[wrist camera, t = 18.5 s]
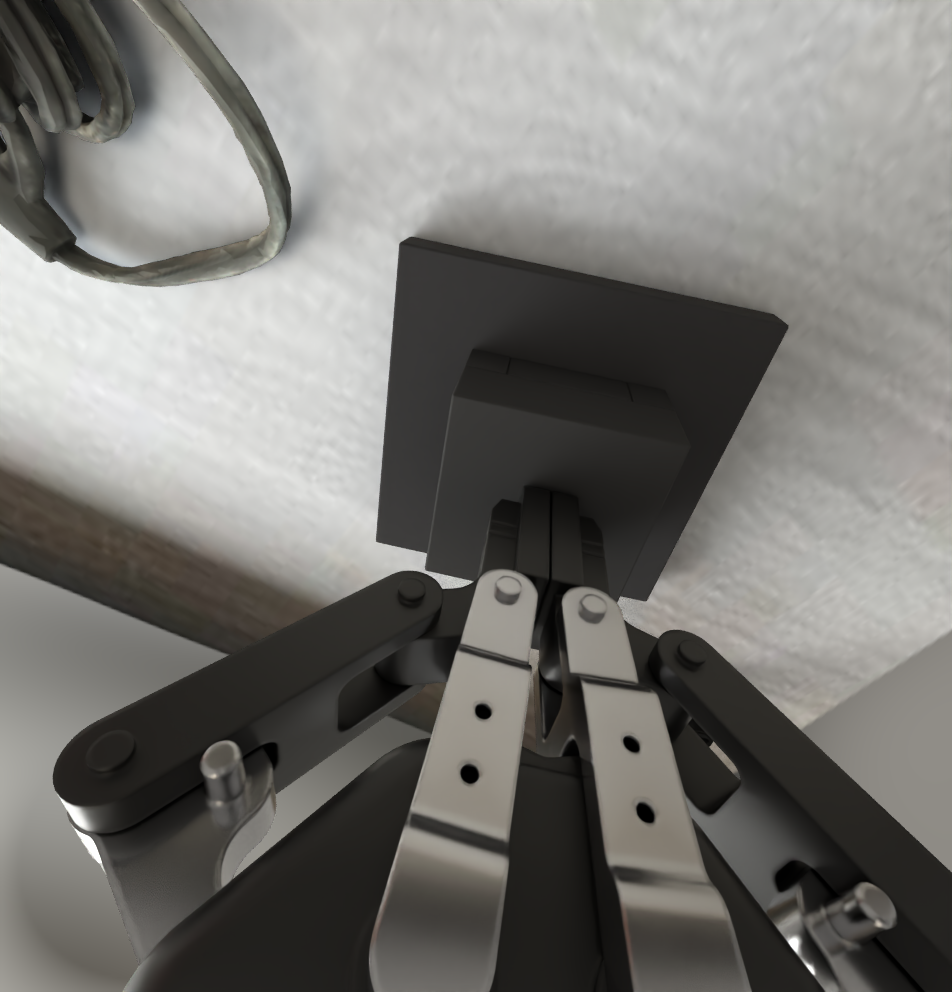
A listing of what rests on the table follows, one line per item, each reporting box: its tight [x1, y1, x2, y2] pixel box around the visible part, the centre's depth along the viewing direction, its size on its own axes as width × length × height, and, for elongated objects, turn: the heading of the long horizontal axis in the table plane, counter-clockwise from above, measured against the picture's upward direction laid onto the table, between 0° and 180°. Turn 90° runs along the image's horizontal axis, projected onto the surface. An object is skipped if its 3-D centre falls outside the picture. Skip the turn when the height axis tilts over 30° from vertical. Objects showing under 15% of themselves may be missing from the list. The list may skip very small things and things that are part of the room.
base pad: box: [376, 237, 788, 601], centre depth 17 cm, size 11×11×3 cm
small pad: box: [425, 349, 690, 603], centre depth 16 cm, size 6×6×4 cm
